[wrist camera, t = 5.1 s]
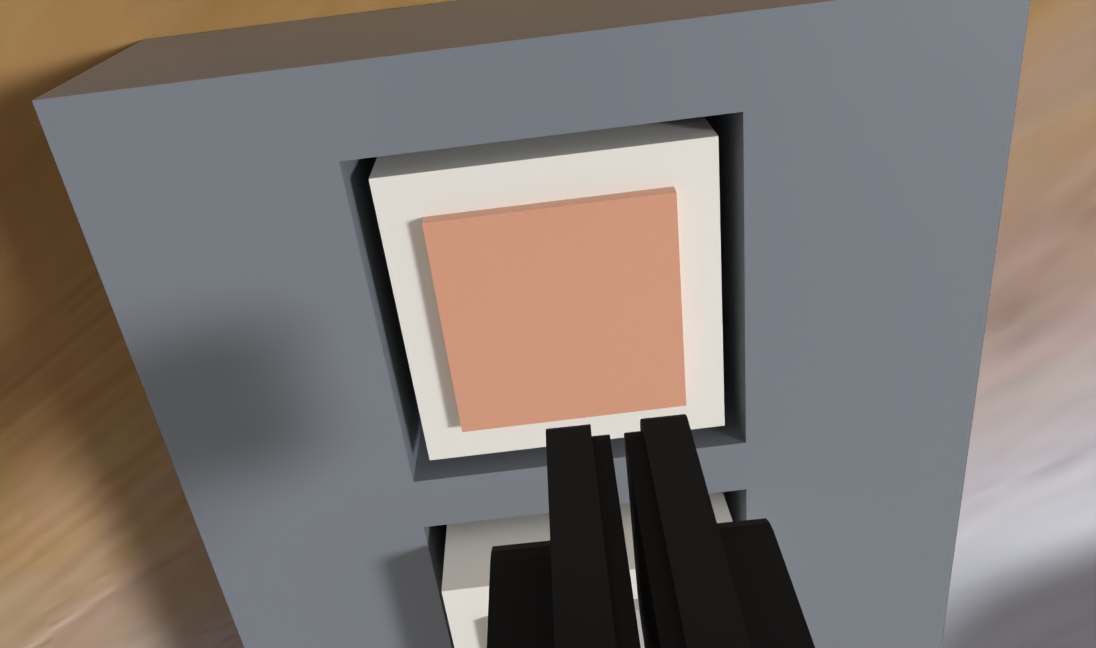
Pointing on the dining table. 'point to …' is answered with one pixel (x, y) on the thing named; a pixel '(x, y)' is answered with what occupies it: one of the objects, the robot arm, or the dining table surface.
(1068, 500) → the dining table surface
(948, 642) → the dining table surface
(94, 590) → the dining table surface
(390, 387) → the keypad
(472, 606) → the middle key
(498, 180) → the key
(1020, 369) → the dining table surface
